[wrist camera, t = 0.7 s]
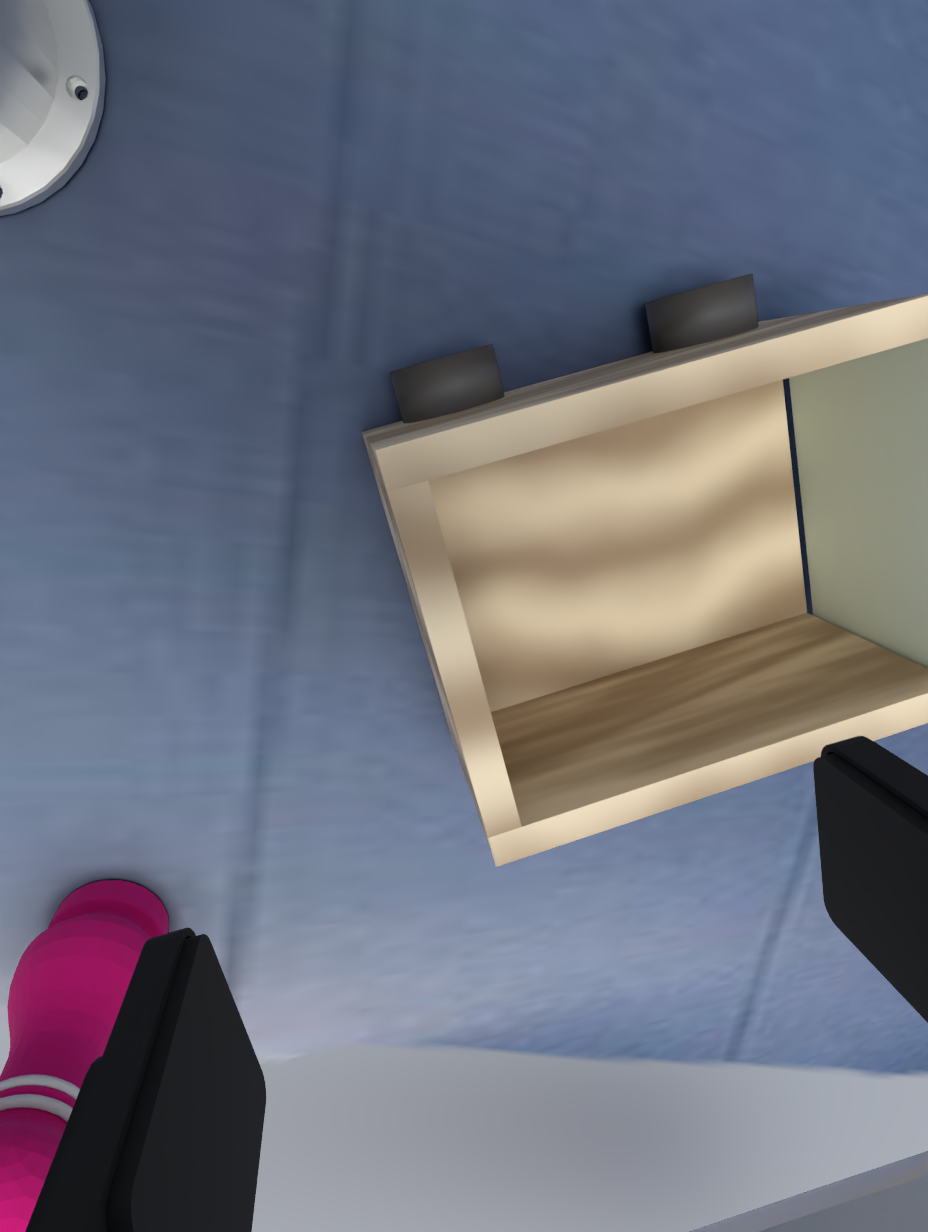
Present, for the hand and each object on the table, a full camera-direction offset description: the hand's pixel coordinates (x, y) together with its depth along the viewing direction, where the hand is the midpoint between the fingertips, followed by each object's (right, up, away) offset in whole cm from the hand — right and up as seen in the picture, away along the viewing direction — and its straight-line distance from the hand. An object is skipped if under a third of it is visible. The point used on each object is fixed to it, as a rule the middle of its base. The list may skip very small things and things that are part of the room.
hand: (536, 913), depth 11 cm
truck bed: (+6, +9, +30) cm, 32 cm away
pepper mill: (-22, -14, +32) cm, 41 cm away
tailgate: (+18, +12, +30) cm, 37 cm away
